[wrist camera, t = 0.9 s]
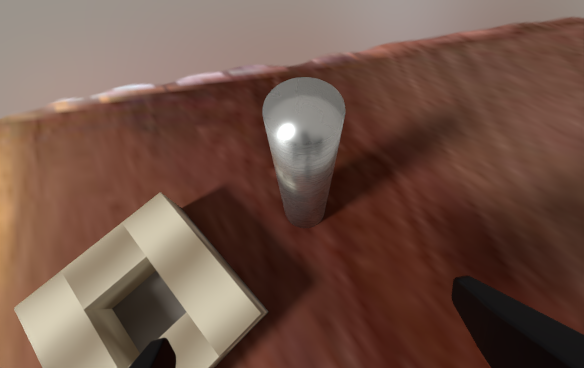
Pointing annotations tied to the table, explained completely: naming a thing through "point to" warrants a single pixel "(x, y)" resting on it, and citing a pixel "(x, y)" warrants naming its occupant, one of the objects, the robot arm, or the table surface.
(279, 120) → the steel pin
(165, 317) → the socket block
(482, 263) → the table surface
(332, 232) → the table surface
